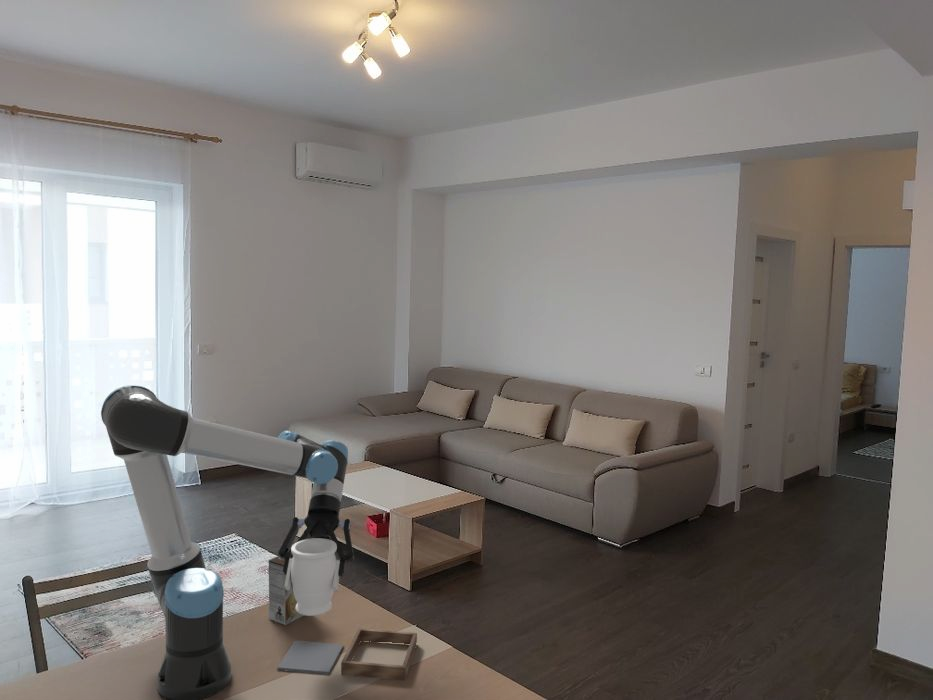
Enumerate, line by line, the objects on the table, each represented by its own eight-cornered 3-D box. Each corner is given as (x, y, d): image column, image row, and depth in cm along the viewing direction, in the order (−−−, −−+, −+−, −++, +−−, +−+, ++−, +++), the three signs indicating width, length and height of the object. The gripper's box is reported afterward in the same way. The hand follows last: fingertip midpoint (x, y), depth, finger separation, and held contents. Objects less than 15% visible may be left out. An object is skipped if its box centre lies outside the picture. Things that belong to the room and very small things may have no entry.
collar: (341, 675, 158) (341, 662, 158) (358, 639, 174) (358, 628, 174) (405, 680, 157) (405, 667, 157) (416, 644, 173) (416, 633, 172)
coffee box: (293, 605, 191) (294, 548, 189) (311, 612, 187) (311, 554, 186) (267, 619, 183) (268, 559, 181) (285, 626, 179) (285, 565, 178)
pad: (277, 669, 160) (277, 667, 160) (295, 642, 172) (295, 640, 171) (329, 674, 159) (329, 671, 158) (343, 646, 170) (343, 644, 170)
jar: (325, 621, 158) (326, 557, 156) (282, 615, 160) (282, 552, 158) (343, 600, 168) (343, 539, 167) (302, 595, 170) (303, 535, 169)
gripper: (373, 508, 177) (362, 596, 163) (282, 505, 177) (264, 593, 163) (370, 494, 171) (359, 584, 157) (277, 491, 171) (257, 581, 158)
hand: (310, 589), depth 160 cm, fingers closed on jar, 10 cm apart
